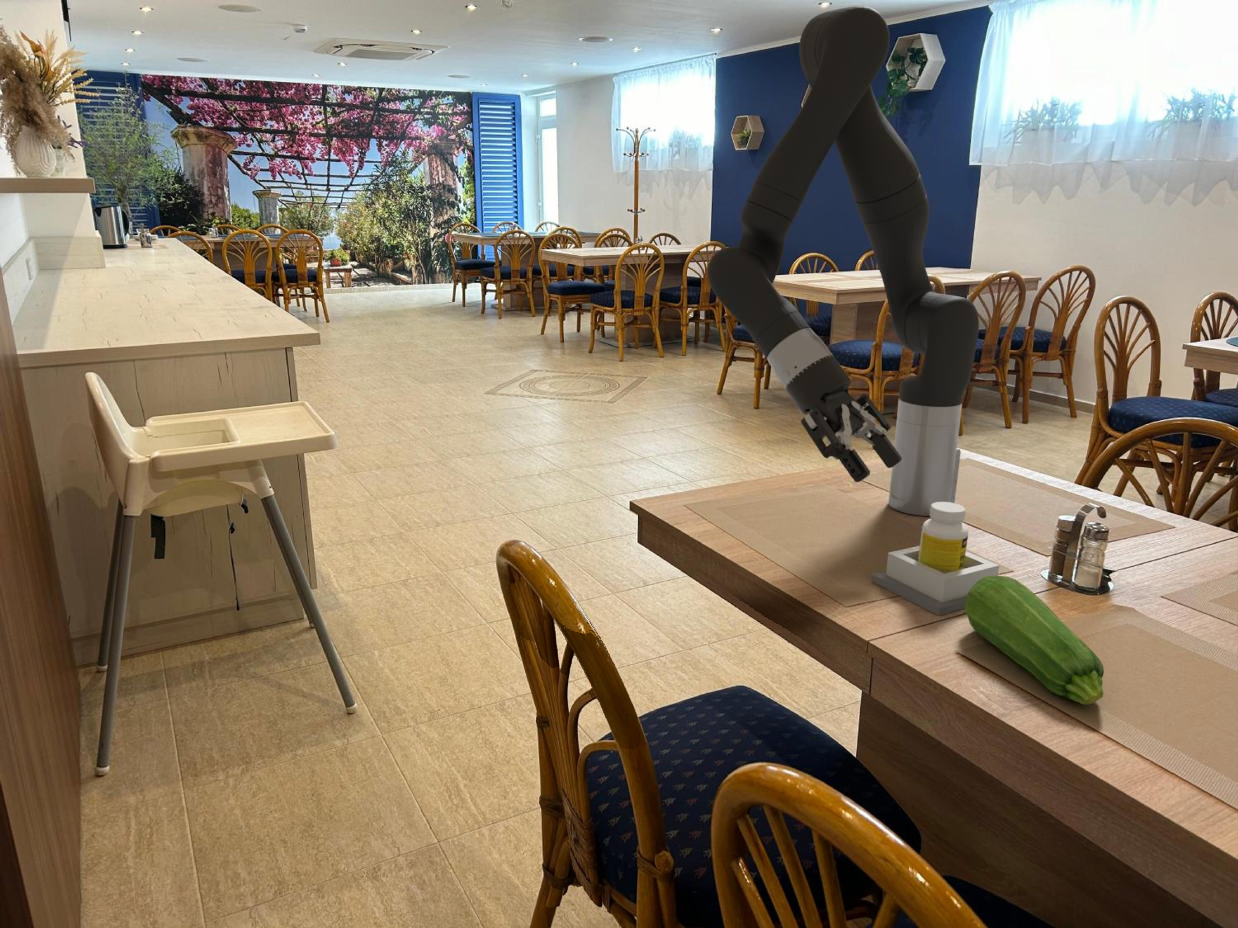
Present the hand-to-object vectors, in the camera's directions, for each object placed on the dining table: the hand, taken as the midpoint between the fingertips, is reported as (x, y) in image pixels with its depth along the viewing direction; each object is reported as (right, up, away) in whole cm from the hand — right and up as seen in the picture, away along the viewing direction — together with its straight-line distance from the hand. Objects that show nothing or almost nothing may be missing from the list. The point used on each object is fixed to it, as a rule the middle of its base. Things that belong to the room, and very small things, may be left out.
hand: (880, 471), depth 115 cm
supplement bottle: (+7, -14, -3) cm, 15 cm away
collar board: (+7, -15, -2) cm, 16 cm away
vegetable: (+10, -21, -21) cm, 31 cm away
